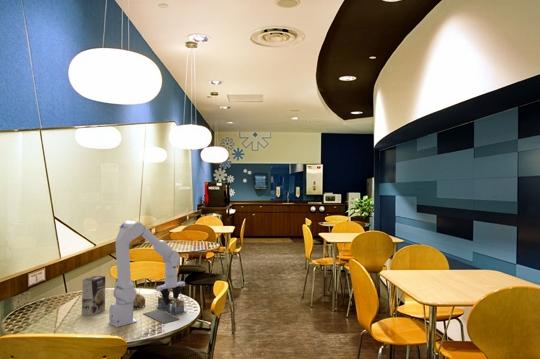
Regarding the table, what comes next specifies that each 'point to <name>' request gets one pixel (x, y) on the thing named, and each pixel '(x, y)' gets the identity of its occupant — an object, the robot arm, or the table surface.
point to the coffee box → (93, 295)
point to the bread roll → (138, 301)
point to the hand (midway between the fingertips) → (170, 303)
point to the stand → (170, 307)
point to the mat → (161, 316)
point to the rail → (178, 302)
